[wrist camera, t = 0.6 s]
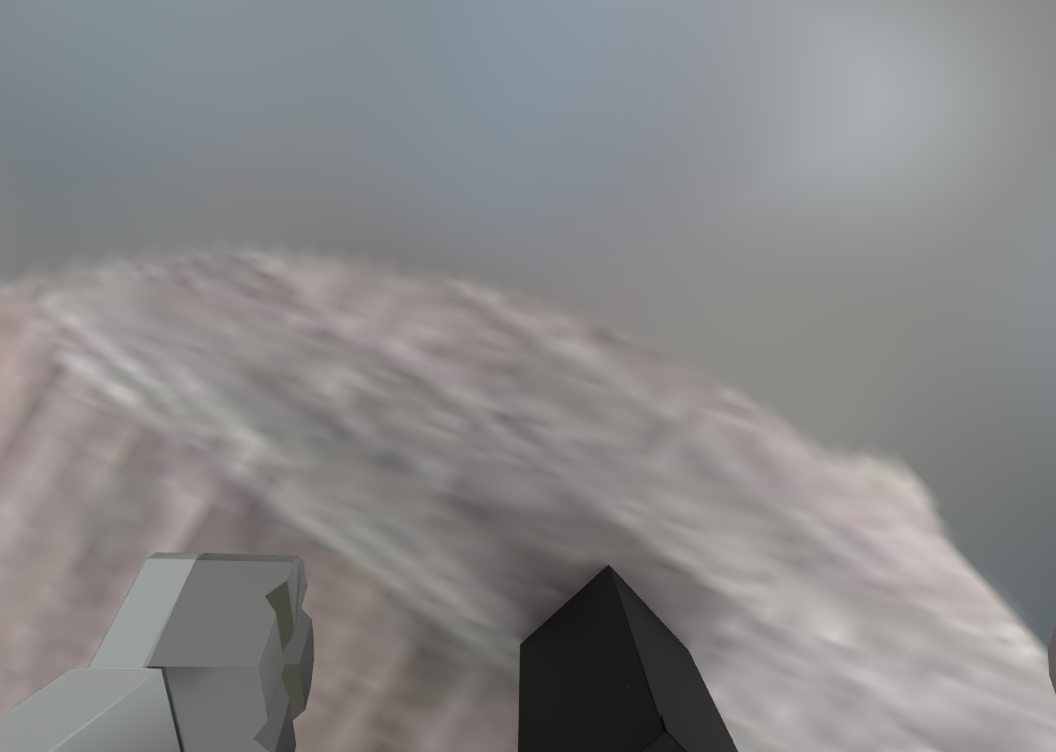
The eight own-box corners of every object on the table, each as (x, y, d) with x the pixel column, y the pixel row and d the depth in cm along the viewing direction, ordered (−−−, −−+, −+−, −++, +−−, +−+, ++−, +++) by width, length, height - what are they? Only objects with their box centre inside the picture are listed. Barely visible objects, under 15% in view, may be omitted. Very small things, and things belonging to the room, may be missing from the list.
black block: (517, 643, 61) (510, 920, 33) (608, 561, 61) (679, 770, 33) (600, 732, 61) (662, 1079, 33) (691, 650, 61) (831, 932, 33)
